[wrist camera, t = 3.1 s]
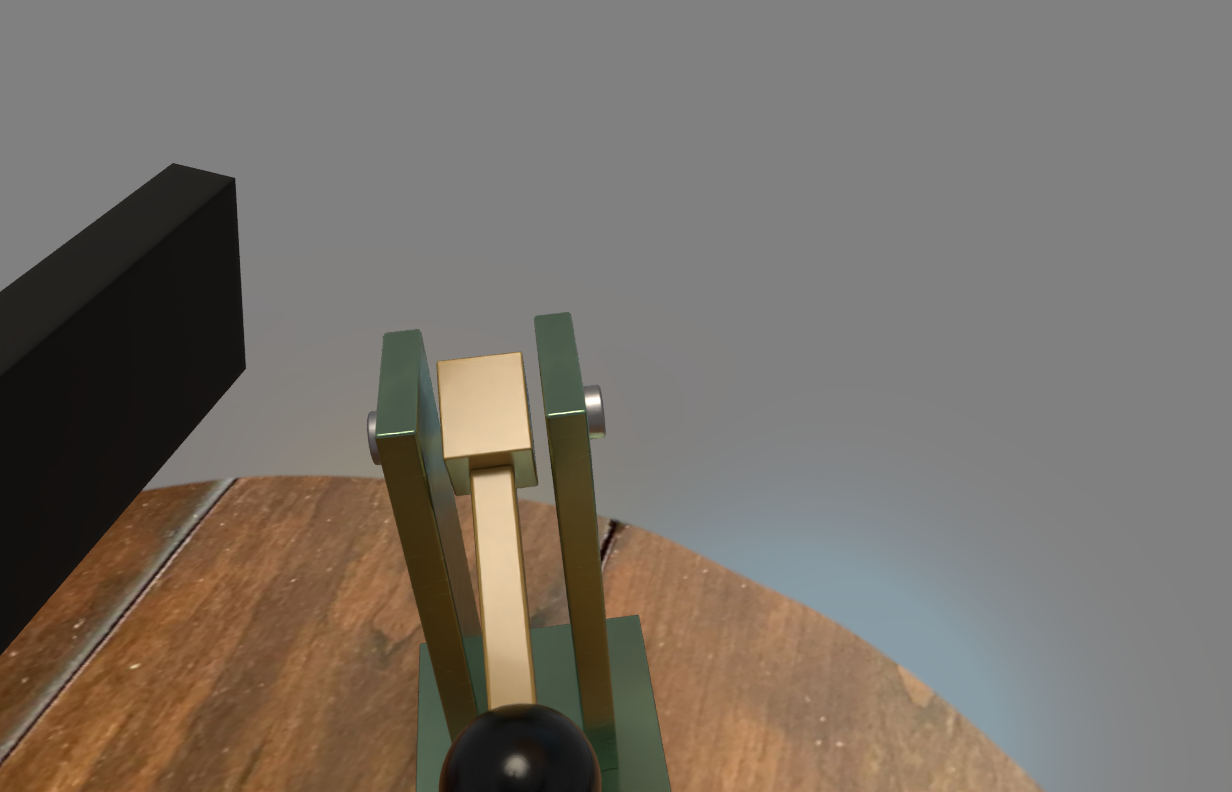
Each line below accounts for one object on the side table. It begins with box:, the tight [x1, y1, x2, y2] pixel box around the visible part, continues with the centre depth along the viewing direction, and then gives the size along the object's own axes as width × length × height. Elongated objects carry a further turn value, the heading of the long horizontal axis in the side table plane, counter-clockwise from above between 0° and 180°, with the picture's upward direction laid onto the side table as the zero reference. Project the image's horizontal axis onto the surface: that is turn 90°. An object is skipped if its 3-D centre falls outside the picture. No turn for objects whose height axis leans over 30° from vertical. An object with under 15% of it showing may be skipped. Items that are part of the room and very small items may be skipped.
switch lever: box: [437, 352, 602, 792], centre depth 26 cm, size 12×4×4 cm, turn 7°
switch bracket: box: [367, 312, 671, 792], centre depth 31 cm, size 8×8×16 cm
